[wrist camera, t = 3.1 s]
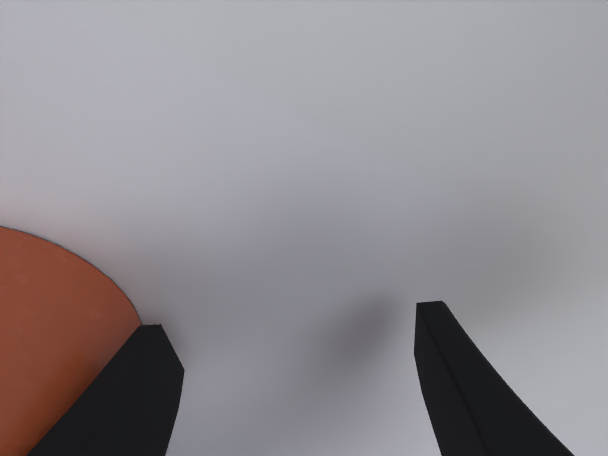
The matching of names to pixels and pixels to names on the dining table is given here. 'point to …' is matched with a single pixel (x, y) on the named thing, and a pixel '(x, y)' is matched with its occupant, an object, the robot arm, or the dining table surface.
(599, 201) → the dining table surface
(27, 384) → the tin can
